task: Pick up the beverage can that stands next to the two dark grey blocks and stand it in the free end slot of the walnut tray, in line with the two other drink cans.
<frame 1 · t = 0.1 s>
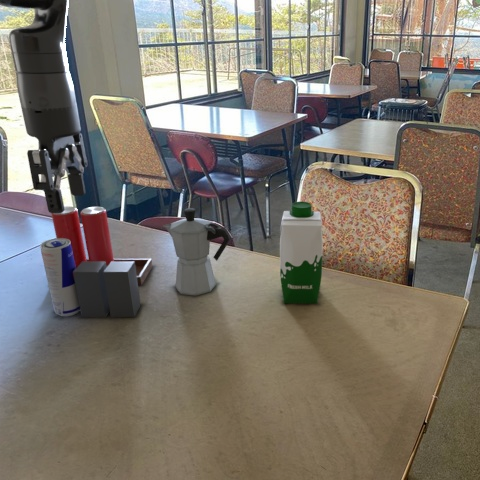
hand: (68, 203, 80), 25 cm above the table, tool pointing down, fingers open, 8 cm apart
drink can a: (76, 273, 108), resting on can tray
grey block b: (126, 311, 96), on the table
coffee maker: (200, 287, 106), on the table
beverage can: (69, 312, 95), on the table
grey block a: (98, 311, 96), on the table
can tray: (104, 275, 109), on the table
drink can b: (103, 273, 109), resting on can tray
milk carton: (300, 296, 104), on the table
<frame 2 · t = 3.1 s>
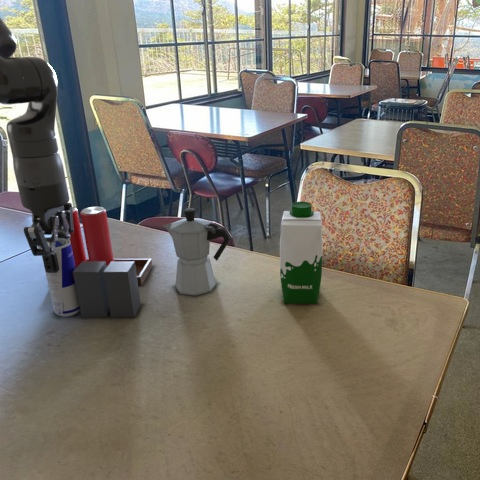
hand: (59, 264, 91), 10 cm above the table, tool pointing down, fingers closed on beverage can, 5 cm apart
beverage can: (69, 312, 95), on the table, touching gripper
everything else where it was.
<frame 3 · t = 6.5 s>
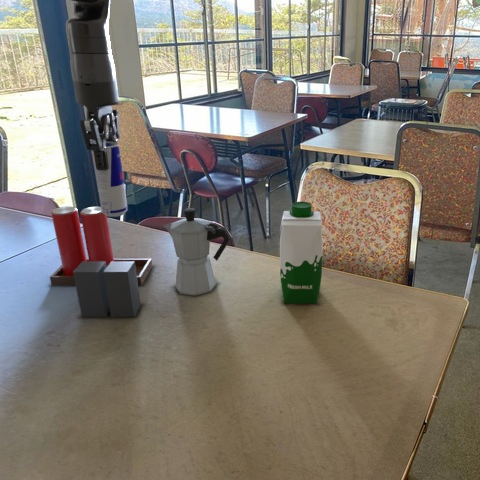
hand: (107, 165, 97), 26 cm above the table, tool pointing down, fingers closed on beverage can, 5 cm apart
beverage can: (115, 214, 102), point 16 cm above the table, touching gripper
everything else where it was.
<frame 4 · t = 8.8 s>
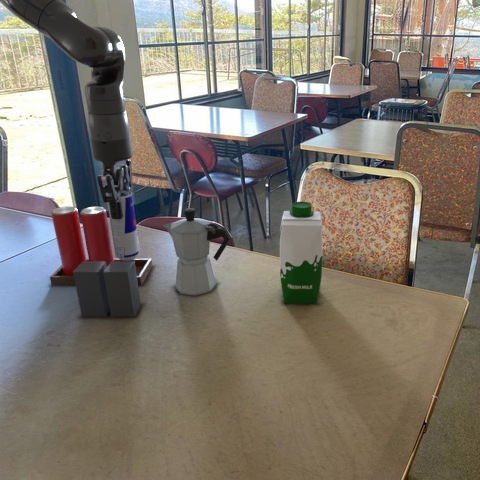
hand: (121, 213, 103), 15 cm above the table, tool pointing down, fingers closed on beverage can, 5 cm apart
beverage can: (128, 257, 108), point 5 cm above the table, touching gripper
everything else where it was.
when the fingers open (11 cm above the table, at t = 10.3 s): beverage can stays where it is, resting on can tray.
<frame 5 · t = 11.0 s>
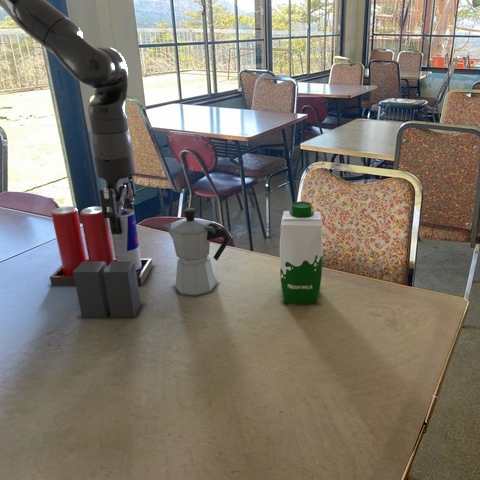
hand: (123, 226, 104), 12 cm above the table, tool pointing down, fingers open, 8 cm apart
beverage can: (130, 274, 109), resting on can tray
everything else where it was.
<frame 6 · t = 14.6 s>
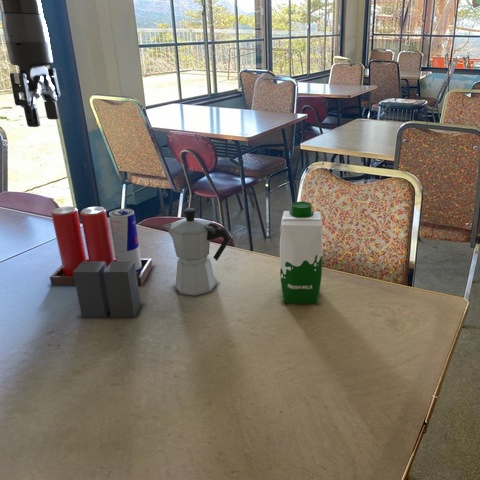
hand: (44, 122, 101), 33 cm above the table, tool pointing down, fingers open, 8 cm apart
nothing on the table moved.
at the end: beverage can 0.2 cm from the target spot, resting on can tray; beverage can tilted 0°; the gripper is holding nothing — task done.
